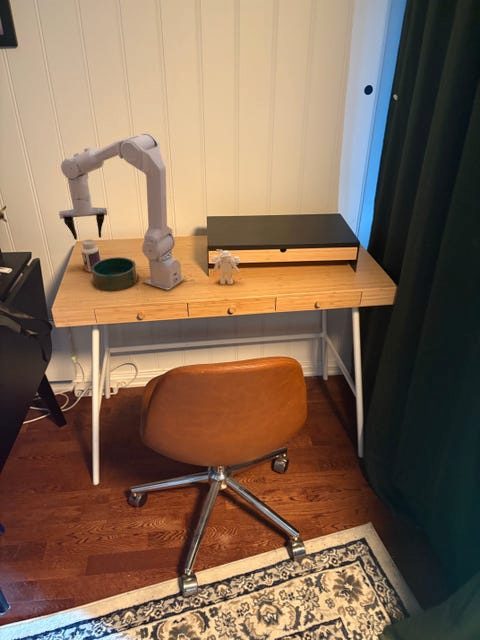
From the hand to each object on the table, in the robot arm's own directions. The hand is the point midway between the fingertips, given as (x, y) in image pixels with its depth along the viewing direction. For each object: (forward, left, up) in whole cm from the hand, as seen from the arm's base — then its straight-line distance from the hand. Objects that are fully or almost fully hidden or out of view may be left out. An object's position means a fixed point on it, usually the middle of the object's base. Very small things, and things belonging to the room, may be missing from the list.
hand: (88, 237), depth 156 cm
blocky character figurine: (-45, -13, -11) cm, 48 cm away
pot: (-14, +4, -10) cm, 18 cm away
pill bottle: (-1, +1, -11) cm, 11 cm away
